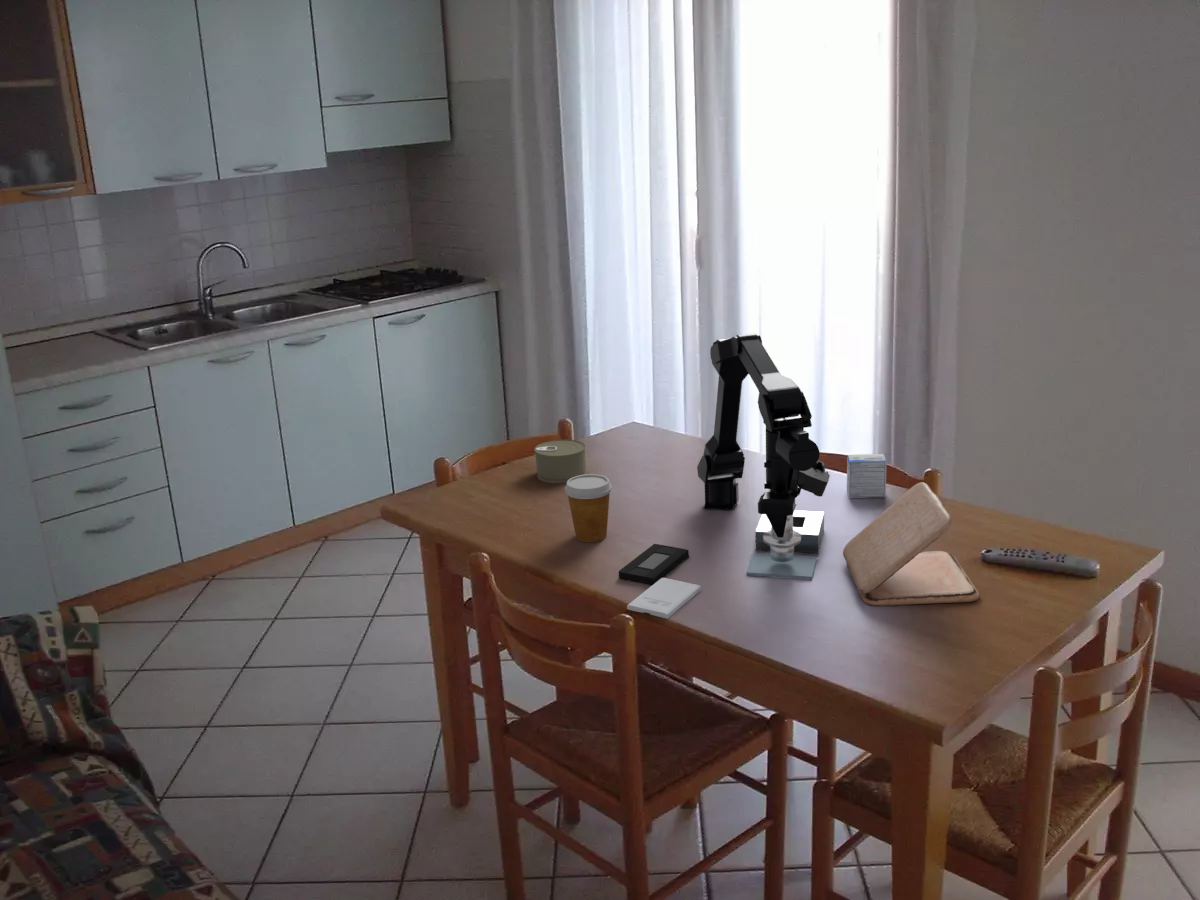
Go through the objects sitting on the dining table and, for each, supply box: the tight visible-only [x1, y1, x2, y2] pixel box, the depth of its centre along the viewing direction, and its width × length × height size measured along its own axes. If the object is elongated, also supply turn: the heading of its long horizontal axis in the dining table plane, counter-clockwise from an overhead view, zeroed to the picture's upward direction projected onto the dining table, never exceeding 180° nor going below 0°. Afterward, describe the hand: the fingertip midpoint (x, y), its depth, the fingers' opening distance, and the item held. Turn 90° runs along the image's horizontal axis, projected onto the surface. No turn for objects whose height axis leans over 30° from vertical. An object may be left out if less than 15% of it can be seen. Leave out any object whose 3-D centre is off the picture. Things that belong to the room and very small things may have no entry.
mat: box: [746, 552, 818, 581], centre depth 215 cm, size 12×9×1 cm
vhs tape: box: [618, 543, 690, 587], centre depth 218 cm, size 8×14×2 cm, turn 149°
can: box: [534, 439, 587, 484], centre depth 270 cm, size 12×12×7 cm
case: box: [842, 481, 980, 607], centre depth 204 cm, size 20×21×16 cm
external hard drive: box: [626, 577, 702, 620], centre depth 205 cm, size 2×8×12 cm
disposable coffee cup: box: [564, 473, 613, 543], centre depth 232 cm, size 10×10×12 cm
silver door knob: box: [763, 515, 801, 562], centre depth 213 cm, size 7×7×8 cm
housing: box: [755, 509, 825, 555], centre depth 226 cm, size 12×12×4 cm
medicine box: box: [846, 453, 888, 499], centre depth 246 cm, size 8×4×9 cm, turn 84°
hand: (781, 532), depth 213 cm, fingers closed on silver door knob, 4 cm apart
